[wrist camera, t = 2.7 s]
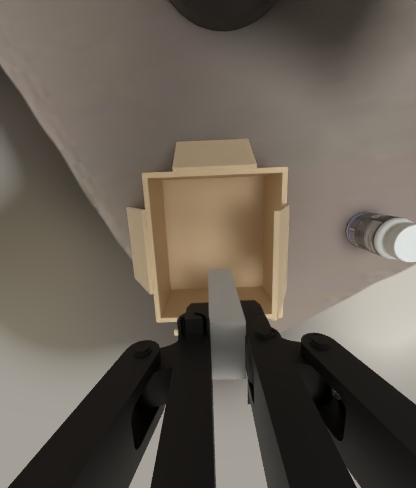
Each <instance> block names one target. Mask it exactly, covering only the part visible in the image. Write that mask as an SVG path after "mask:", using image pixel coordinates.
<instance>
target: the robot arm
mask: <svg viewBox="0 0 416 488" xmlns="http://www.w3.org/2000/svg"><path fill="white" fill-rule="evenodd" d="M170 1H171V2H172V4H173V5H174V6H175V7H176V8H177V9H178V10H179V11H180V12H181V13H182V14H183V15H184V16H185V17H186V18H188V19H189V20H191V21H192V22H194V23H196V24H198V25H200V26H203V27H205V28H209V29H214V30H233V29H238V28H241V27H244V26H246V25H249V24H251V23H252V22H254V21H256V20H257V19H259V18H260V17H261V16H263V15H264V14H265V13H266V12H267V11H268V10H269V9H270V8H271V7H272V6H273V5H274V4H275V2H276V1H277V0H170ZM208 294H209V302H206V303H191V304H190V305H189V306H188V307H187V308H186V313H184V314H182V315H180V316H179V317H178V319H177V324H178V341H177V342H176V343H174V344H172V345H169V346H166V347H162V348H160V347H159V344H157V343H156V342H154V341H151V340H145V341H139V342H137V343H134V344H133V345H131V346H130V347H129V348H127V349H126V351H125V352H124V353H123V354H122V355H121V356H120V358H119V359H118V360H117V361H116V362H115V363H114V365H113V366H112V367H111V368H110V370H108V371H107V373H106V374H105V375H104V376H103V377H102V379H101V380H100V381H99V382H98V383H97V384H96V385H95V387H94V388H93V389H92V390H91V391H90V392H89V394H88V395H87V396H86V397H85V398H84V400H83V401H82V402H81V403H80V404H79V405H78V406H77V408H76V409H75V410H74V411H73V412H72V413H71V415H70V416H69V417H68V418H67V419H66V421H65V422H64V423H63V424H62V425H61V426H60V427H59V429H58V430H57V431H56V432H55V433H54V434H53V436H52V437H51V438H50V439H49V440H48V441H47V443H46V444H45V445H44V446H43V447H42V448H41V450H40V451H39V452H38V453H37V454H36V455H35V457H34V458H33V459H32V460H31V461H30V462H29V463H28V465H27V466H26V467H25V468H24V469H23V471H22V472H21V473H20V474H19V475H18V476H17V478H16V479H15V480H14V481H13V482H12V483H11V484H10V486H9V487H8V488H128V487H129V485H130V483H131V481H132V478H133V476H134V474H135V472H136V470H137V468H138V465H139V463H140V461H141V459H142V456H143V454H144V452H145V450H146V448H147V446H148V444H149V441H150V439H151V437H152V435H153V433H154V430H155V428H156V426H157V424H158V422H159V419H160V417H161V415H162V413H163V411H164V407H165V404H166V408H165V413H164V418H163V424H162V429H161V434H160V440H159V445H158V450H157V456H156V462H155V466H154V472H153V477H152V483H151V488H216V477H215V445H214V415H213V385H212V380H223V379H246V372H247V376H248V404H251V407H252V411H253V416H254V421H255V426H256V431H257V437H258V441H259V446H260V451H261V456H262V461H263V466H264V471H265V476H266V481H267V486H268V488H357V487H356V485H355V483H354V481H353V479H352V477H351V475H350V473H351V474H352V475H353V477H354V478H355V480H356V481H357V482H358V484H359V485H360V487H361V488H416V405H415V404H414V403H413V402H412V401H410V400H409V399H408V398H407V397H405V396H404V395H403V394H402V393H400V392H399V391H398V390H397V389H395V388H394V387H393V386H392V385H390V384H389V383H388V382H386V381H385V380H384V379H383V378H381V377H380V376H379V375H378V374H376V373H375V372H374V371H373V370H371V369H370V368H369V367H368V366H366V365H365V364H364V363H363V362H361V361H360V360H359V359H357V358H356V357H355V356H354V355H353V354H351V353H350V352H349V351H348V350H346V349H345V348H344V347H342V346H341V345H340V344H339V343H337V342H336V341H335V340H334V339H332V338H330V337H328V336H326V335H323V334H319V333H308V334H306V335H303V337H302V338H301V342H295V341H290V340H286V339H283V338H281V335H280V333H279V332H278V331H277V330H276V329H274V328H272V327H271V326H270V324H269V322H268V320H267V318H266V315H265V313H264V311H263V309H262V307H261V305H260V304H259V303H258V302H257V301H255V300H239V297H238V293H237V290H236V286H235V283H234V280H233V276H232V273H231V269H215V270H208ZM347 468H348V469H347ZM348 470H349V471H350V473H349V471H348Z"/></svg>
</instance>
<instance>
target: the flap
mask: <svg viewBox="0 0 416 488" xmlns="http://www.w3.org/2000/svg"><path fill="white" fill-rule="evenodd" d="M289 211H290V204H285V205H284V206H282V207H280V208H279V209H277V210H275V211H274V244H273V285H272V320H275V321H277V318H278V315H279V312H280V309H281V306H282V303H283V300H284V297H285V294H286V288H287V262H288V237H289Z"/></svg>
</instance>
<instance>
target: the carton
mask: <svg viewBox="0 0 416 488" xmlns="http://www.w3.org/2000/svg"><path fill="white" fill-rule="evenodd" d="M287 180H288V167H271V168H249V169H225V170H201V171H178V172H152V173H142V182H143V192H144V202H145V212H146V222H147V232H148V242H149V251H150V261H151V271H152V281H153V291H154V301H155V311H156V321H157V322H177V319H178V317H179V316H180V315H182V314H184V313H186V308H187V307H188V306H189V305H190V304H191V303H206V302H209V294H208V270H215V269H231V273H232V276H233V280H234V283H235V286H236V290H237V293H238V297H239V300H255V301H257V302H258V303H259V304H260V305H261V307H262V309H263V311H264V313H265V315H266V318H272V285H273V244H274V211H275V210H277V209H279V208H280V207H282V206H284V205H285V204H287ZM278 318H283V303H282V306H281V309H280V312H279V315H278Z"/></svg>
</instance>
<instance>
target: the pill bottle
mask: <svg viewBox="0 0 416 488" xmlns="http://www.w3.org/2000/svg"><path fill="white" fill-rule="evenodd" d="M346 234H347V238H348V240H349V241H350V242H351V243H352V244H353V245H355V246H357V247H360V248H362V249H365V250H367V251H370V252H372V253H375V254H377V255H380V256H382V257H385V258H388V259H399V260H402V261H404V262H415V261H416V223H413V222H412V221H410V220H408V219H405V218H401V217H393V216H387V215H382V214H374V213H361V214H358V215H356V216H355V217H354V218H352V220H351V221H350V222H349V224H348V226H347V230H346Z"/></svg>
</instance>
